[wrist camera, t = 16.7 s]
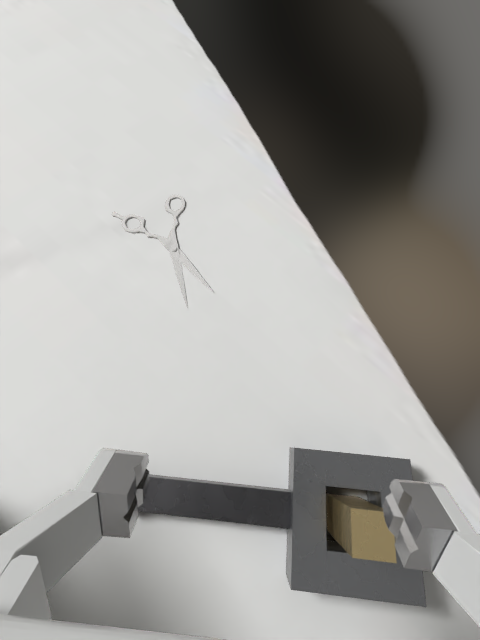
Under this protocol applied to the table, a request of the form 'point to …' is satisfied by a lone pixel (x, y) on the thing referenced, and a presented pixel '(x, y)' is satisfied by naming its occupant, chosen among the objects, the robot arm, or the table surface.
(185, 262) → the scissors
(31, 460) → the table surface
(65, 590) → the table surface
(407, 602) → the grey handled square frame
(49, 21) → the table surface
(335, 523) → the bar
